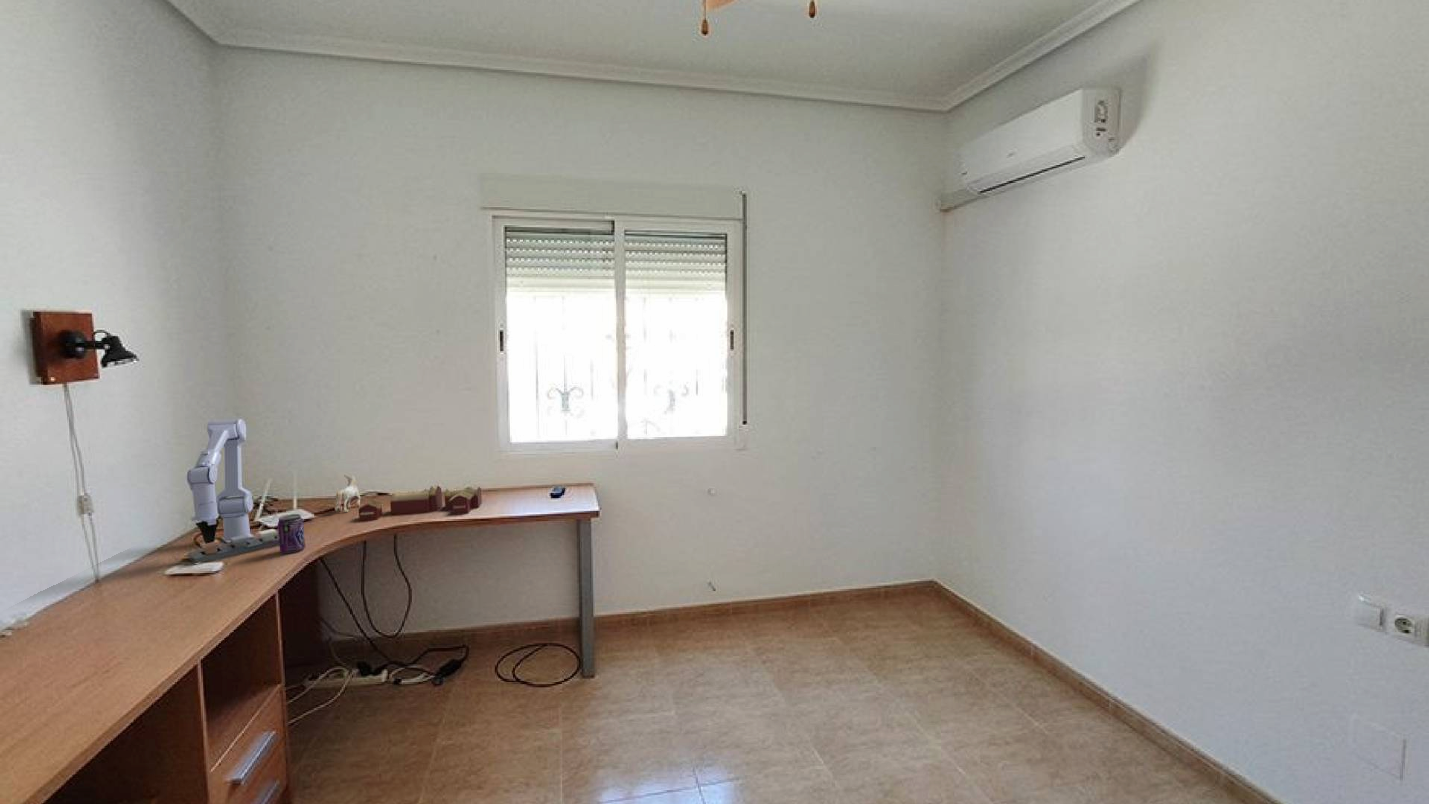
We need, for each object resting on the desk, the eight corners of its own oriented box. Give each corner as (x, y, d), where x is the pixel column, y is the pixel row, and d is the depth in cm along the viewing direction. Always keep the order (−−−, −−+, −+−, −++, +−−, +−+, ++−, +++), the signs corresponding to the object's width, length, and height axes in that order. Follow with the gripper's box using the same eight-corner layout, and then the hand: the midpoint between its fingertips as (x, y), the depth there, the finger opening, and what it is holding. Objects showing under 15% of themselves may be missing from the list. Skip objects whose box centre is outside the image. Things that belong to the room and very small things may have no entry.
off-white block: (259, 541, 213) (258, 531, 213) (274, 537, 217) (273, 528, 216) (262, 543, 211) (261, 534, 210) (277, 540, 214) (276, 531, 214)
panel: (188, 558, 201) (188, 552, 201) (281, 537, 221) (280, 532, 221) (195, 564, 195) (194, 558, 194) (289, 543, 214) (289, 537, 214)
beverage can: (292, 554, 202) (289, 520, 201) (275, 553, 203) (271, 519, 202) (310, 547, 209) (307, 514, 207) (293, 546, 210) (290, 513, 209)
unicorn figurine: (364, 502, 270) (362, 473, 269) (353, 513, 251) (351, 482, 250) (346, 504, 268) (343, 474, 266) (334, 515, 249) (331, 484, 248)
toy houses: (483, 502, 266) (481, 479, 265) (474, 514, 246) (472, 490, 245) (372, 510, 257) (370, 487, 256) (353, 524, 237) (351, 499, 236)
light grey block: (231, 547, 207) (229, 537, 207) (246, 543, 211) (245, 534, 210) (234, 550, 205) (233, 540, 204) (250, 546, 208) (249, 536, 208)
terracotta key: (200, 552, 201) (199, 542, 201) (217, 549, 205) (216, 539, 204) (203, 555, 198) (202, 545, 198) (220, 551, 202) (219, 541, 201)
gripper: (185, 502, 201) (189, 541, 203) (194, 508, 192) (198, 549, 193) (211, 497, 207) (216, 536, 208) (222, 503, 197) (226, 544, 199)
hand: (209, 542), depth 201 cm, fingers closed, pressing on terracotta key
